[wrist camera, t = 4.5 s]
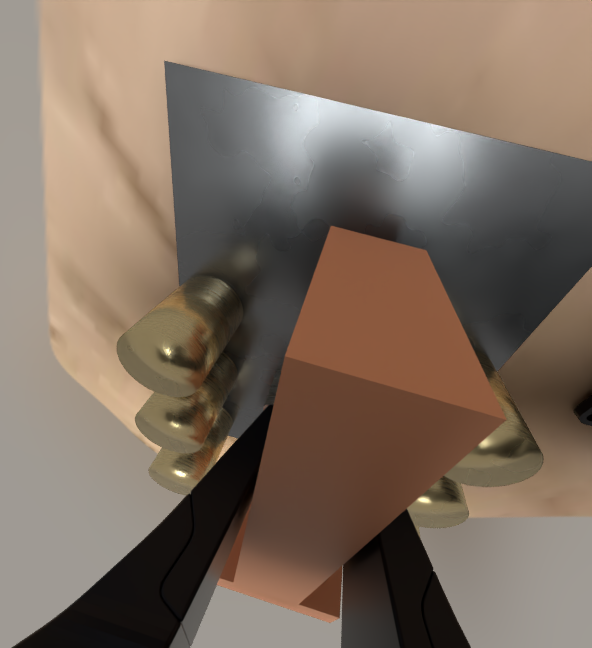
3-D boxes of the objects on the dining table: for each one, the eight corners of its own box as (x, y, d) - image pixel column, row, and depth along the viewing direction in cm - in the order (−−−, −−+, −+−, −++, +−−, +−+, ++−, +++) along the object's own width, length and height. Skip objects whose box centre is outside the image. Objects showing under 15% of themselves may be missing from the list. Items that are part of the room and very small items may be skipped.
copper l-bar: (486, 266, 7) (654, 462, 3) (339, 487, 16) (329, 622, 11) (273, 210, 8) (156, 319, 3) (241, 456, 16) (195, 577, 12)
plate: (650, 177, 8) (914, 219, 4) (393, 476, 18) (401, 563, 15) (175, 64, 8) (27, 12, 5) (193, 416, 19) (152, 485, 15)
